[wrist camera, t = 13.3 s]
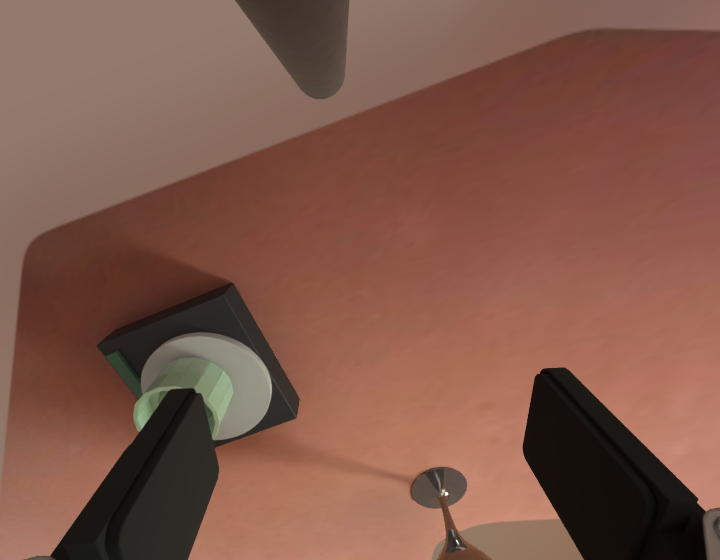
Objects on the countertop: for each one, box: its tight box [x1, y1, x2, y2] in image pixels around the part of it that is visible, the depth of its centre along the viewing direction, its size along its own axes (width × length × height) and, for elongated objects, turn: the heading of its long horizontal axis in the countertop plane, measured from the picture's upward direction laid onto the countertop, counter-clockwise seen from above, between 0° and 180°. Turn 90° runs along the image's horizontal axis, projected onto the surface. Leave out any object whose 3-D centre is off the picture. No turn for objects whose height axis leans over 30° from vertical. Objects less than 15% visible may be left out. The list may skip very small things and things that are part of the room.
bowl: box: [133, 357, 233, 439], centre depth 31 cm, size 7×7×5 cm
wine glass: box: [412, 468, 492, 560], centre depth 38 cm, size 8×8×15 cm
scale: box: [97, 283, 300, 448], centre depth 35 cm, size 15×13×4 cm
